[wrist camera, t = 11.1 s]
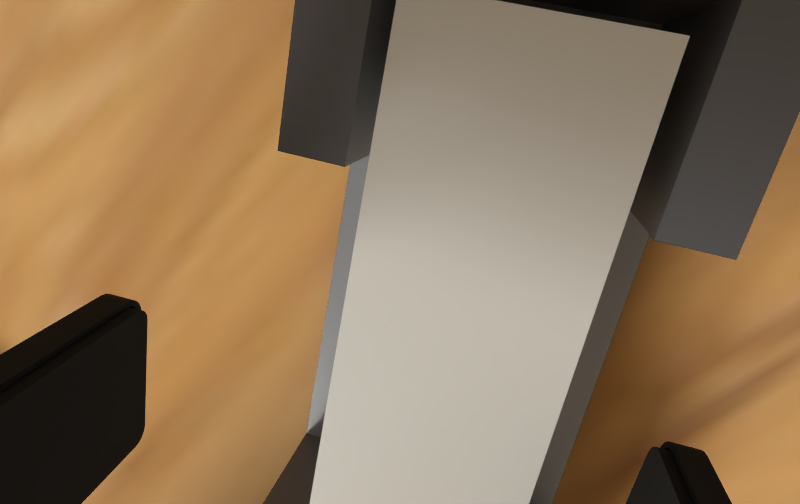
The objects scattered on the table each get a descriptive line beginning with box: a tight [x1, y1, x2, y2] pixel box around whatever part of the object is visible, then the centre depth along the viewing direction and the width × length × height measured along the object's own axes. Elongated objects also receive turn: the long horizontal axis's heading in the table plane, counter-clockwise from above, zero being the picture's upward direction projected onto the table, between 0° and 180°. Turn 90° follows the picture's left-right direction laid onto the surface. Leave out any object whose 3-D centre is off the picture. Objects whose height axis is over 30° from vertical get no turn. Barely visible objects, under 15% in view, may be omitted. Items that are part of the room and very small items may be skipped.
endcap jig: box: [263, 0, 800, 504], centre depth 14 cm, size 20×8×6 cm, turn 170°
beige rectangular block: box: [310, 0, 690, 504], centre depth 13 cm, size 16×4×6 cm, turn 170°
